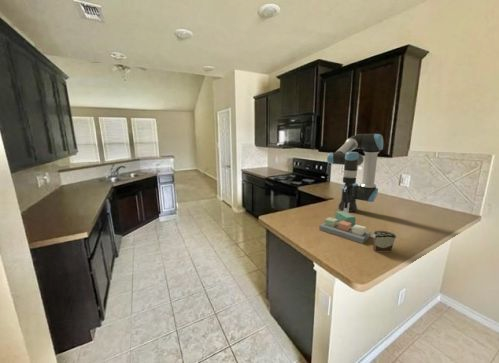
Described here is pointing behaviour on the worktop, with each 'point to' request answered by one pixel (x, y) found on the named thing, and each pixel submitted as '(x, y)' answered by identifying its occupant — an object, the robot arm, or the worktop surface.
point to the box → (345, 217)
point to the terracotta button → (344, 225)
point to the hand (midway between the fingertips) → (345, 212)
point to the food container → (383, 241)
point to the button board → (345, 233)
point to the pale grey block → (359, 230)
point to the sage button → (331, 222)
